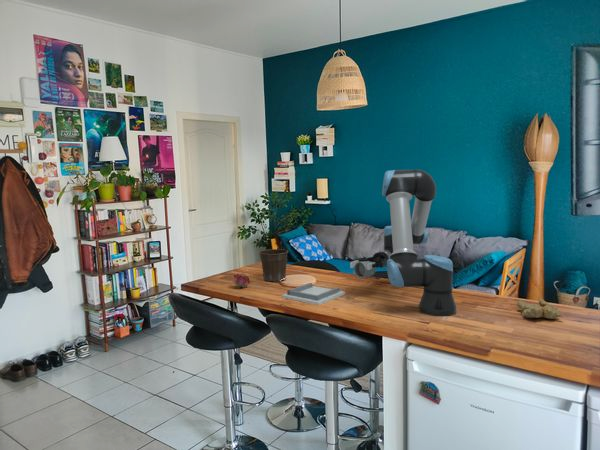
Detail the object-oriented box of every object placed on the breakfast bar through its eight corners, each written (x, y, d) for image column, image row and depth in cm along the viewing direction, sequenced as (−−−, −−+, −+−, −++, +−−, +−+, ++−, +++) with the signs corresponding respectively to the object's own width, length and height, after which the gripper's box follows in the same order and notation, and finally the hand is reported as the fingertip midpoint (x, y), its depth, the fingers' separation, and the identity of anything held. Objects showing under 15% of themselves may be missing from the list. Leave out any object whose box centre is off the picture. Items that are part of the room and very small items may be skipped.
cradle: (345, 294, 219) (345, 287, 219) (318, 305, 202) (318, 298, 202) (309, 287, 233) (309, 281, 233) (281, 297, 216) (281, 290, 215)
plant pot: (254, 279, 252) (253, 251, 250) (276, 275, 263) (275, 247, 261) (272, 284, 240) (271, 255, 238) (294, 279, 251) (294, 251, 249)
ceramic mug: (377, 276, 215) (376, 260, 214) (365, 279, 210) (365, 262, 209) (360, 273, 223) (360, 258, 222) (349, 276, 218) (348, 260, 217)
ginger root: (565, 323, 169) (560, 302, 169) (519, 327, 176) (514, 307, 176) (562, 312, 183) (558, 293, 183) (520, 316, 190) (515, 298, 190)
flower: (245, 287, 228) (250, 273, 232) (228, 284, 229) (233, 269, 233) (248, 294, 237) (252, 280, 240) (231, 290, 238) (236, 276, 241)
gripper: (401, 268, 222) (379, 276, 205) (364, 263, 235) (340, 271, 218) (401, 253, 221) (379, 260, 204) (364, 249, 235) (340, 256, 217)
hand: (359, 266), depth 211 cm, fingers closed on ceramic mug, 8 cm apart
